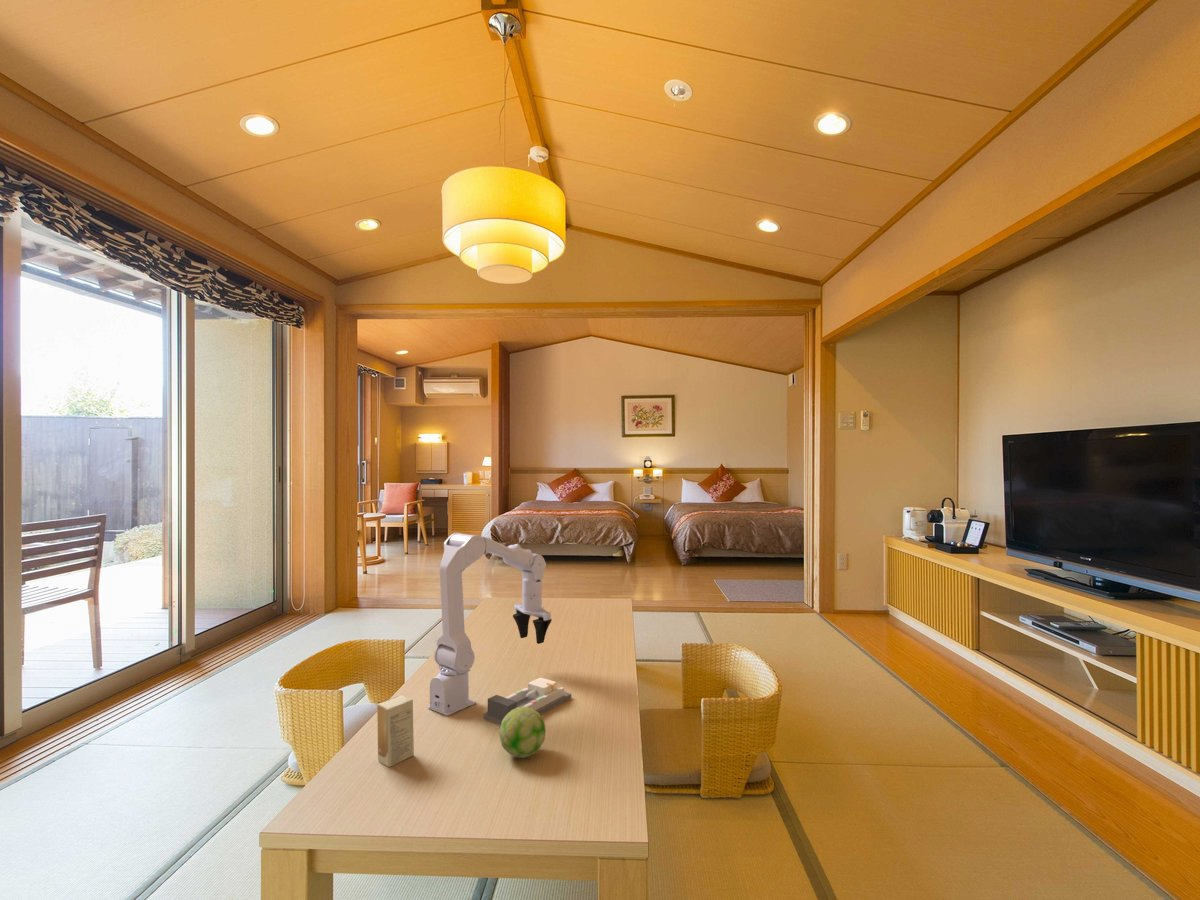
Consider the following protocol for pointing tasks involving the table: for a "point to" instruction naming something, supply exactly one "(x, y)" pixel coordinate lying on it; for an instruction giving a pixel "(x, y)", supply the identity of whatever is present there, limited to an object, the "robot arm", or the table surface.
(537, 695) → the gauge carriage
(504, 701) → the gauge base
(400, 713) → the skincare box
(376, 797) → the table surface
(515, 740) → the decorative ball
